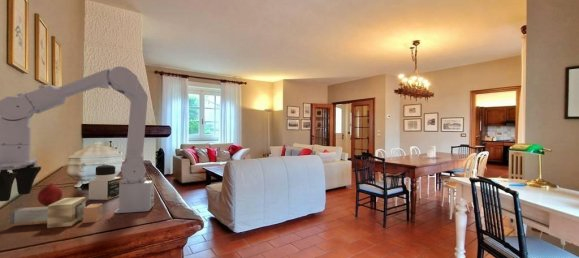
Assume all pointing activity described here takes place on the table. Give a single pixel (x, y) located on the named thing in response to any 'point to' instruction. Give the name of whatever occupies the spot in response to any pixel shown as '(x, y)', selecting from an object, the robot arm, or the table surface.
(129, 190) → the robot arm
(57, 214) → the bearing block
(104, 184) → the medicine bottle
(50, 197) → the onion
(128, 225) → the table surface
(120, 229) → the table surface
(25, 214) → the bar
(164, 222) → the table surface
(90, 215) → the block
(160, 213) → the table surface
